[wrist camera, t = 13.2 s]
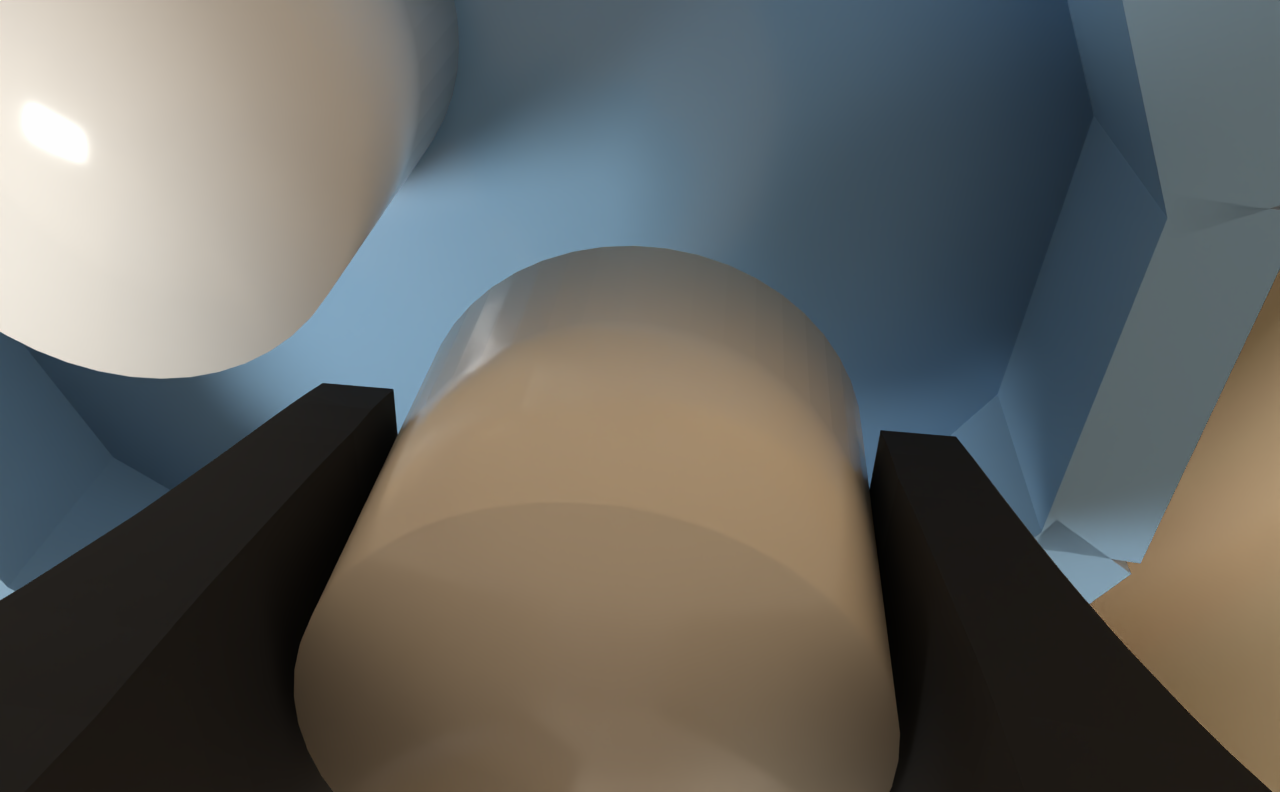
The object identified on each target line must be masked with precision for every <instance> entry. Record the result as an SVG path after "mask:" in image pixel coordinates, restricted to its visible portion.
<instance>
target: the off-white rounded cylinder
mask: <svg viewBox="0 0 1280 792" xmlns="http://www.w3.org/2000/svg"><path fill="white" fill-rule="evenodd" d="M458 54H459V36H458V21H457V13H456V8H455V3H454V0H0V332H1V333H3V334H5V335H7V336H9V337H11V338H13V339H15V340H17V341H19V342H21V343H23V344H25V345H27V346H29V347H31V348H33V349H35V350H37V351H40V352H42V353H45V354H47V355H50V356H52V357H55V358H58V359H60V360H63V361H65V362H68V363H72V364H75V365H79V366H82V367H86V368H89V369H93V370H96V371H101V372H106V373H112V374H118V375H123V376H129V377H143V378H158V379H164V378H183V377H194V376H199V375H205V374H210V373H216V372H220V371H223V370H226V369H230V368H233V367H236V366H239V365H242V364H245V363H247V362H249V361H251V360H253V359H255V358H257V357H259V356H261V355H263V354H265V353H267V352H269V351H271V350H272V349H274V348H275V347H277V346H278V345H280V344H281V343H282V342H284V341H285V340H287V339H288V338H290V337H291V336H292V335H293V334H294V333H295V332H296V331H297V330H299V329H300V328H301V327H302V326H303V325H304V324H305V323H306V322H307V321H308V320H309V319H310V318H311V317H312V316H313V314H314V313H315V311H316V310H317V309H318V307H319V306H320V305H321V303H322V302H323V301H324V299H325V298H326V297H327V295H328V294H329V292H330V291H331V289H332V288H333V286H334V285H335V283H336V282H337V281H338V279H339V278H340V276H341V275H342V273H343V272H344V270H345V269H346V267H347V266H348V264H349V263H350V261H351V260H352V259H353V257H354V256H355V254H356V253H357V251H358V250H359V248H360V247H361V245H362V244H363V242H364V241H365V239H366V238H367V236H368V235H369V234H370V232H371V231H372V229H373V228H374V226H375V225H376V223H377V222H378V220H379V219H380V217H381V216H382V214H383V213H384V212H385V210H386V209H387V207H388V206H389V204H390V203H391V201H392V200H393V198H394V197H395V195H396V194H397V192H398V191H399V190H400V188H401V187H402V185H403V184H404V182H405V181H406V179H407V178H408V176H409V175H410V173H411V172H412V170H413V169H414V167H415V166H416V165H417V163H418V162H419V160H420V159H421V157H422V156H423V154H424V153H425V151H426V150H427V148H428V147H429V145H430V144H431V143H432V141H433V140H434V138H435V136H436V134H437V132H438V130H439V128H440V126H441V124H442V122H443V120H444V119H445V116H446V113H447V110H448V107H449V104H450V101H451V99H452V96H453V91H454V86H455V81H456V76H457V70H458Z"/></svg>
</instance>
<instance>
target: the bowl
mask: <svg viewBox="0 0 1280 792" xmlns="http://www.w3.org/2000/svg"><path fill="white" fill-rule="evenodd" d="M454 3H455V8H456V13H457V21H458V36H459V54H458V70H457V76H456V81H455V86H454V91H453V96H452V99H451V101H450V104H449V107H448V110H447V113H446V116H445V119H444V120H443V122H442V124H441V126H440V128H439V130H438V132H437V134H436V136H435V138H434V140H433V141H432V143H431V144H430V145H429V147H428V148H427V150H426V151H425V153H424V154H423V156H422V157H421V159H420V160H419V162H418V163H417V165H416V166H415V167H414V169H413V170H412V172H411V173H410V175H409V176H408V178H407V179H406V181H405V182H404V184H403V185H402V187H401V188H400V190H399V191H398V192H397V194H396V195H395V197H394V198H393V200H392V201H391V203H390V204H389V206H388V207H387V209H386V210H385V212H384V213H383V214H382V216H381V217H380V219H379V220H378V222H377V223H376V225H375V226H374V228H373V229H372V231H371V232H370V234H369V235H368V236H367V238H366V239H365V241H364V242H363V244H362V245H361V247H360V248H359V250H358V251H357V253H356V254H355V256H354V257H353V259H352V260H351V261H350V263H349V264H348V266H347V267H346V269H345V270H344V272H343V273H342V275H341V276H340V278H339V279H338V281H337V282H336V283H335V285H334V286H333V288H332V289H331V291H330V292H329V294H328V295H327V297H326V298H325V299H324V301H323V302H322V303H321V305H320V306H319V307H318V309H317V310H316V311H315V313H314V314H313V316H312V317H311V318H310V319H309V320H308V321H307V322H306V323H305V324H304V325H303V326H302V327H301V328H300V329H299V330H297V331H296V332H295V333H294V334H293V335H292V336H291V337H290V338H288V339H287V340H285V341H284V342H282V343H281V344H280V345H278V346H277V347H275V348H274V349H272V350H271V351H269V352H267V353H265V354H263V355H261V356H259V357H257V358H255V359H253V360H251V361H249V362H247V363H245V364H242V365H239V366H236V367H233V368H230V369H226V370H223V371H220V372H216V373H210V374H205V375H199V376H194V377H183V378H164V379H158V378H143V377H129V376H123V375H118V374H112V373H106V372H101V371H96V370H93V369H89V368H86V367H82V366H79V365H75V364H72V363H68V362H65V361H63V360H60V359H58V358H55V357H52V356H50V355H47V354H45V353H42V352H40V351H37V350H35V349H33V348H31V347H29V346H27V345H25V344H23V343H21V342H19V341H17V340H15V339H13V338H11V337H9V336H7V335H5V334H3V333H1V332H0V600H1V599H3V598H5V597H6V596H8V595H10V594H11V593H13V592H15V591H16V590H18V589H20V588H21V587H23V586H25V585H26V584H28V583H29V582H31V581H32V580H34V579H36V578H37V577H39V576H40V575H42V574H43V573H45V572H46V571H48V570H50V569H51V568H53V567H54V566H56V565H57V564H59V563H61V562H62V561H64V560H65V559H67V558H68V557H70V556H72V555H73V554H75V553H76V552H78V551H79V550H81V549H82V548H84V547H86V546H87V545H89V544H90V543H92V542H93V541H95V540H97V539H98V538H100V537H101V536H103V535H104V534H106V533H107V532H109V531H111V530H112V529H114V528H115V527H117V526H118V525H120V524H122V523H123V522H125V521H126V520H128V519H129V518H131V517H132V516H134V515H136V514H137V513H138V512H140V511H141V510H143V509H144V508H146V507H147V506H149V505H150V504H152V503H153V502H154V501H156V500H157V499H159V498H160V497H161V496H163V495H164V494H166V493H167V492H169V491H170V490H171V489H173V488H174V487H176V486H177V485H179V484H180V483H181V482H183V481H184V480H186V479H187V478H188V477H190V476H191V475H193V474H194V473H196V472H197V471H198V470H200V469H201V468H203V467H204V466H205V465H207V464H208V463H210V462H211V461H213V460H214V459H215V458H217V457H218V456H220V455H221V454H222V453H224V452H225V451H227V450H228V449H229V448H231V447H232V446H233V445H235V444H236V443H238V442H239V441H240V440H242V439H243V438H245V437H246V436H247V435H249V434H250V433H251V432H253V431H254V430H256V429H257V428H258V427H260V426H261V425H262V424H264V423H265V422H267V421H268V420H269V419H271V418H272V417H273V416H275V415H276V414H278V413H279V412H280V411H282V410H283V409H285V408H286V407H287V406H289V405H290V404H292V403H293V402H295V401H296V400H297V399H299V398H300V397H302V396H303V395H305V394H306V393H308V392H309V391H311V390H312V389H314V388H316V387H317V386H319V385H320V384H322V383H330V384H342V385H353V386H365V387H377V388H389V389H394V400H395V411H396V422H397V432H398V433H399V431H400V429H401V427H402V425H403V423H404V421H405V419H406V416H407V414H408V412H409V410H410V408H411V406H412V404H413V402H414V400H415V398H416V395H417V393H418V391H419V389H420V387H421V385H422V383H423V381H424V379H425V376H426V374H427V372H428V370H429V368H430V366H431V364H432V362H433V360H434V358H435V355H436V353H437V351H438V349H439V347H440V345H441V343H442V342H443V340H444V339H445V337H446V336H447V334H448V333H449V331H450V329H451V328H452V326H453V325H454V323H455V322H456V321H457V320H458V319H459V318H460V317H461V316H462V314H463V313H464V312H465V311H466V310H467V309H468V308H469V307H470V305H471V304H473V303H474V302H475V301H476V300H477V299H479V298H480V297H481V296H482V295H483V294H484V293H486V292H487V291H488V290H489V289H490V288H492V287H493V286H495V285H496V284H498V283H500V282H501V281H503V280H504V279H506V278H508V277H509V276H511V275H513V274H514V273H516V272H518V271H520V270H522V269H525V268H527V267H529V266H532V265H534V264H536V263H538V262H541V261H543V260H546V259H550V258H553V257H556V256H560V255H563V254H567V253H570V252H574V251H581V250H587V249H593V248H599V247H614V246H644V247H656V248H667V249H672V250H677V251H682V252H687V253H691V254H696V255H700V256H703V257H706V258H709V259H712V260H715V261H718V262H721V263H724V264H727V265H729V266H731V267H734V268H736V269H738V270H740V271H742V272H744V273H746V274H748V275H750V276H753V277H755V278H757V279H758V280H760V281H761V282H763V283H764V284H766V285H768V286H769V287H771V288H772V289H774V290H775V291H777V292H779V293H780V294H782V295H783V296H784V297H785V298H787V299H788V300H789V301H790V302H791V303H793V304H794V305H795V306H796V307H797V308H799V309H800V310H801V311H802V312H803V313H805V314H806V316H807V317H808V318H809V319H810V320H811V321H812V322H813V323H814V324H815V325H816V327H817V328H818V329H819V330H820V331H821V332H822V333H823V334H824V335H825V337H826V338H827V340H828V341H829V343H830V344H831V346H832V347H833V349H834V350H835V352H836V353H837V355H838V356H839V357H840V359H841V362H842V364H843V366H844V368H845V370H846V372H847V374H848V376H849V378H850V380H851V383H852V386H853V389H854V393H855V396H856V399H857V402H858V406H859V412H860V420H861V427H862V434H863V442H864V450H865V458H866V466H867V474H868V482H869V489H870V484H871V478H872V473H873V468H874V462H875V457H876V452H877V447H878V441H879V436H880V431H881V430H885V431H897V432H909V433H920V434H932V435H944V436H956V437H957V438H958V440H959V441H960V442H961V443H962V445H963V446H964V447H965V448H966V450H967V451H968V452H969V453H970V455H971V456H972V457H973V458H974V460H975V461H976V462H977V464H978V465H979V466H980V468H981V469H982V470H983V471H984V473H985V474H986V475H987V477H988V478H989V479H990V481H991V482H992V483H993V485H994V486H995V487H996V489H997V490H998V491H999V492H1000V494H1001V495H1002V496H1003V498H1004V499H1005V500H1006V502H1007V503H1008V504H1009V506H1010V507H1011V508H1012V509H1013V511H1014V512H1015V513H1016V515H1017V516H1018V517H1019V518H1020V520H1021V521H1022V522H1023V524H1024V525H1025V526H1026V527H1027V529H1028V530H1029V531H1030V533H1031V534H1032V535H1033V536H1034V538H1035V539H1036V540H1037V541H1038V543H1039V544H1040V545H1041V547H1042V548H1043V549H1044V550H1045V552H1046V553H1047V554H1048V555H1049V556H1050V558H1051V559H1052V560H1053V561H1054V563H1055V564H1056V565H1057V566H1058V568H1059V569H1060V570H1061V571H1062V573H1063V574H1064V575H1065V576H1066V577H1067V578H1068V580H1069V581H1070V582H1071V583H1072V584H1073V586H1074V587H1075V588H1076V589H1077V590H1078V591H1079V593H1080V594H1081V595H1082V596H1083V597H1084V599H1085V600H1086V601H1087V602H1088V603H1089V604H1090V603H1091V602H1093V601H1094V600H1095V599H1097V598H1098V597H1100V596H1101V595H1102V594H1104V593H1105V592H1107V591H1108V590H1109V589H1111V588H1112V587H1114V586H1115V585H1117V584H1118V583H1119V582H1121V581H1122V580H1124V579H1125V578H1126V577H1128V576H1129V575H1131V572H1130V570H1129V567H1128V565H1127V562H1126V561H1128V562H1134V563H1141V561H1142V559H1143V557H1144V555H1145V553H1146V551H1147V549H1148V547H1149V544H1150V542H1151V540H1152V538H1153V536H1154V534H1155V532H1156V530H1157V527H1158V525H1159V523H1160V521H1161V519H1162V517H1163V515H1164V513H1165V511H1166V508H1167V506H1168V504H1169V502H1170V500H1171V498H1172V496H1173V494H1174V492H1175V489H1176V487H1177V485H1178V483H1179V481H1180V479H1181V477H1182V475H1183V473H1184V470H1185V468H1186V466H1187V464H1188V462H1189V460H1190V458H1191V456H1192V453H1193V451H1194V449H1195V447H1196V445H1197V443H1198V441H1199V439H1200V437H1201V434H1202V432H1203V430H1204V428H1205V426H1206V424H1207V422H1208V420H1209V418H1210V415H1211V413H1212V411H1213V409H1214V407H1215V405H1216V403H1217V401H1218V399H1219V396H1220V394H1221V392H1222V390H1223V388H1224V386H1225V384H1226V382H1227V380H1228V377H1229V375H1230V373H1231V371H1232V369H1233V367H1234V365H1235V363H1236V360H1237V358H1238V356H1239V354H1240V352H1241V350H1242V348H1243V346H1244V344H1245V341H1246V339H1247V337H1248V335H1249V333H1250V331H1251V329H1252V327H1253V325H1254V322H1255V320H1256V318H1257V316H1258V314H1259V312H1260V310H1261V308H1262V306H1263V303H1264V301H1265V299H1266V297H1267V295H1268V293H1269V291H1270V289H1271V286H1272V284H1273V282H1274V280H1275V278H1276V276H1277V274H1278V272H1279V270H1280V0H454Z"/></svg>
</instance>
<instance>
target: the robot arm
mask: <svg viewBox="0 0 1280 792" xmlns="http://www.w3.org/2000/svg"><path fill="white" fill-rule="evenodd" d="M397 435H398V432H397V422H396V411H395V400H394V389H389V388H377V387H365V386H353V385H342V384H330V383H322V384H320V385H319V386H317V387H316V388H314V389H312V390H311V391H309V392H308V393H306V394H305V395H303V396H302V397H300V398H299V399H297V400H296V401H295V402H293V403H292V404H290V405H289V406H287V407H286V408H285V409H283V410H282V411H280V412H279V413H278V414H276V415H275V416H273V417H272V418H271V419H269V420H268V421H267V422H265V423H264V424H262V425H261V426H260V427H258V428H257V429H256V430H254V431H253V432H251V433H250V434H249V435H247V436H246V437H245V438H243V439H242V440H240V441H239V442H238V443H236V444H235V445H233V446H232V447H231V448H229V449H228V450H227V451H225V452H224V453H222V454H221V455H220V456H218V457H217V458H215V459H214V460H213V461H211V462H210V463H208V464H207V465H205V466H204V467H203V468H201V469H200V470H198V471H197V472H196V473H194V474H193V475H191V476H190V477H188V478H187V479H186V480H184V481H183V482H181V483H180V484H179V485H177V486H176V487H174V488H173V489H171V490H170V491H169V492H167V493H166V494H164V495H163V496H161V497H160V498H159V499H157V500H156V501H154V502H153V503H152V504H150V505H149V506H147V507H146V508H144V509H143V510H141V511H140V512H138V513H137V514H136V515H134V516H132V517H131V518H129V519H128V520H126V521H125V522H123V523H122V524H120V525H118V526H117V527H115V528H114V529H112V530H111V531H109V532H107V533H106V534H104V535H103V536H101V537H100V538H98V539H97V540H95V541H93V542H92V543H90V544H89V545H87V546H86V547H84V548H82V549H81V550H79V551H78V552H76V553H75V554H73V555H72V556H70V557H68V558H67V559H65V560H64V561H62V562H61V563H59V564H57V565H56V566H54V567H53V568H51V569H50V570H48V571H46V572H45V573H43V574H42V575H40V576H39V577H37V578H36V579H34V580H32V581H31V582H29V583H28V584H26V585H25V586H23V587H21V588H20V589H18V590H16V591H15V592H13V593H11V594H10V595H8V596H6V597H5V598H3V599H1V600H0V792H333V791H332V789H331V788H330V787H329V785H328V784H327V783H326V781H325V780H324V778H323V777H322V776H321V774H320V772H319V770H318V768H317V767H316V765H315V763H314V761H313V759H312V757H311V755H310V753H309V752H308V750H307V747H306V744H305V741H304V738H303V735H302V733H301V730H300V727H299V724H298V718H297V712H296V706H295V700H294V669H295V665H296V660H297V655H298V650H299V646H300V642H301V640H302V637H303V635H304V633H305V630H306V628H307V626H308V623H309V621H310V619H311V616H312V614H313V612H314V610H315V608H316V606H317V604H318V602H319V600H320V597H321V595H322V593H323V591H324V589H325V587H326V585H327V583H328V581H329V579H330V576H331V574H332V572H333V570H334V568H335V566H336V564H337V562H338V560H339V557H340V555H341V553H342V551H343V549H344V547H345V545H346V543H347V541H348V539H349V536H350V534H351V532H352V530H353V528H354V526H355V524H356V522H357V520H358V517H359V515H360V513H361V511H362V509H363V507H364V505H365V503H366V501H367V499H368V496H369V494H370V492H371V490H372V488H373V486H374V484H375V482H376V480H377V478H378V475H379V473H380V471H381V469H382V467H383V465H384V463H385V461H386V459H387V456H388V454H389V452H390V450H391V448H392V446H393V444H394V442H395V440H396V438H397ZM869 490H870V498H871V506H872V514H873V522H874V530H875V538H876V546H877V554H878V562H879V570H880V578H881V586H882V594H883V602H884V610H885V618H886V626H887V634H888V642H889V649H890V657H891V665H892V673H893V681H894V689H895V697H896V705H897V713H898V721H899V729H900V741H899V759H898V764H897V768H896V772H895V776H894V780H893V784H892V787H891V789H890V792H1272V791H1271V790H1270V789H1269V788H1267V787H1266V786H1265V785H1264V784H1263V783H1262V782H1261V781H1260V780H1259V779H1258V778H1257V777H1255V776H1254V775H1253V774H1252V773H1251V772H1250V771H1249V770H1248V769H1247V768H1246V767H1244V766H1243V765H1242V764H1241V763H1240V762H1239V761H1238V760H1237V759H1236V758H1235V757H1234V756H1232V755H1231V754H1230V753H1229V752H1228V751H1227V750H1226V749H1225V748H1224V747H1223V746H1222V745H1221V744H1220V743H1219V742H1218V741H1217V740H1216V739H1215V738H1214V737H1213V736H1212V735H1211V734H1210V733H1209V732H1208V731H1207V730H1206V729H1205V728H1204V727H1203V726H1202V725H1201V724H1200V723H1199V722H1198V721H1197V720H1196V719H1195V718H1194V717H1193V716H1192V715H1191V714H1190V713H1189V712H1188V711H1187V710H1186V709H1185V708H1184V707H1183V706H1182V705H1181V704H1180V703H1179V702H1178V701H1177V700H1176V699H1175V698H1174V697H1173V696H1172V695H1171V694H1170V692H1169V691H1168V690H1167V689H1166V688H1165V687H1164V686H1163V685H1162V684H1161V683H1160V682H1159V681H1158V680H1157V679H1156V678H1155V677H1154V676H1153V675H1152V674H1151V673H1150V671H1149V670H1148V669H1147V668H1146V667H1145V666H1144V665H1143V664H1142V663H1141V662H1140V661H1139V660H1138V659H1137V658H1136V657H1135V656H1134V655H1133V654H1132V653H1131V651H1130V650H1129V649H1128V648H1127V647H1126V646H1125V645H1124V644H1123V643H1122V641H1121V640H1120V639H1119V638H1118V637H1117V636H1116V635H1115V634H1114V633H1113V631H1112V630H1111V629H1110V628H1109V627H1108V626H1107V625H1106V623H1105V622H1104V621H1103V620H1102V619H1101V618H1100V616H1099V615H1098V614H1097V613H1096V612H1095V610H1094V609H1093V608H1092V607H1091V606H1090V604H1089V603H1088V602H1087V601H1086V600H1085V599H1084V597H1083V596H1082V595H1081V594H1080V593H1079V591H1078V590H1077V589H1076V588H1075V587H1074V586H1073V584H1072V583H1071V582H1070V581H1069V580H1068V578H1067V577H1066V576H1065V575H1064V574H1063V573H1062V571H1061V570H1060V569H1059V568H1058V566H1057V565H1056V564H1055V563H1054V561H1053V560H1052V559H1051V558H1050V556H1049V555H1048V554H1047V553H1046V552H1045V550H1044V549H1043V548H1042V547H1041V545H1040V544H1039V543H1038V541H1037V540H1036V539H1035V538H1034V536H1033V535H1032V534H1031V533H1030V531H1029V530H1028V529H1027V527H1026V526H1025V525H1024V524H1023V522H1022V521H1021V520H1020V518H1019V517H1018V516H1017V515H1016V513H1015V512H1014V511H1013V509H1012V508H1011V507H1010V506H1009V504H1008V503H1007V502H1006V500H1005V499H1004V498H1003V496H1002V495H1001V494H1000V492H999V491H998V490H997V489H996V487H995V486H994V485H993V483H992V482H991V481H990V479H989V478H988V477H987V475H986V474H985V473H984V471H983V470H982V469H981V468H980V466H979V465H978V464H977V462H976V461H975V460H974V458H973V457H972V456H971V455H970V453H969V452H968V451H967V450H966V448H965V447H964V446H963V445H962V443H961V442H960V441H959V440H958V438H957V437H956V436H944V435H932V434H920V433H909V432H897V431H885V430H881V431H880V436H879V441H878V447H877V452H876V457H875V462H874V468H873V473H872V478H871V484H870V489H869Z"/></svg>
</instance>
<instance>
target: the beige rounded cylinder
mask: <svg viewBox="0 0 1280 792" xmlns="http://www.w3.org/2000/svg"><path fill="white" fill-rule="evenodd" d="M294 700H295V706H296V712H297V718H298V724H299V727H300V730H301V733H302V735H303V738H304V741H305V744H306V747H307V750H308V752H309V753H310V755H311V757H312V759H313V761H314V763H315V765H316V767H317V768H318V770H319V772H320V774H321V776H322V777H323V778H324V780H325V781H326V783H327V784H328V785H329V787H330V788H331V789H332V791H333V792H890V789H891V787H892V784H893V780H894V776H895V772H896V768H897V764H898V759H899V741H900V729H899V721H898V713H897V705H896V697H895V689H894V681H893V673H892V665H891V657H890V649H889V642H888V634H887V626H886V618H885V610H884V602H883V594H882V586H881V578H880V570H879V562H878V554H877V546H876V538H875V530H874V522H873V514H872V506H871V498H870V490H869V482H868V474H867V466H866V458H865V450H864V442H863V434H862V427H861V420H860V412H859V406H858V402H857V399H856V396H855V393H854V389H853V386H852V383H851V380H850V378H849V376H848V374H847V372H846V370H845V368H844V366H843V364H842V362H841V359H840V357H839V356H838V355H837V353H836V352H835V350H834V349H833V347H832V346H831V344H830V343H829V341H828V340H827V338H826V337H825V335H824V334H823V333H822V332H821V331H820V330H819V329H818V328H817V327H816V325H815V324H814V323H813V322H812V321H811V320H810V319H809V318H808V317H807V316H806V314H805V313H803V312H802V311H801V310H800V309H799V308H797V307H796V306H795V305H794V304H793V303H791V302H790V301H789V300H788V299H787V298H785V297H784V296H783V295H782V294H780V293H779V292H777V291H775V290H774V289H772V288H771V287H769V286H768V285H766V284H764V283H763V282H761V281H760V280H758V279H757V278H755V277H753V276H750V275H748V274H746V273H744V272H742V271H740V270H738V269H736V268H734V267H731V266H729V265H727V264H724V263H721V262H718V261H715V260H712V259H709V258H706V257H703V256H700V255H696V254H691V253H687V252H682V251H677V250H672V249H667V248H656V247H644V246H614V247H599V248H593V249H587V250H581V251H574V252H570V253H567V254H563V255H560V256H556V257H553V258H550V259H546V260H543V261H541V262H538V263H536V264H534V265H532V266H529V267H527V268H525V269H522V270H520V271H518V272H516V273H514V274H513V275H511V276H509V277H508V278H506V279H504V280H503V281H501V282H500V283H498V284H496V285H495V286H493V287H492V288H490V289H489V290H488V291H487V292H486V293H484V294H483V295H482V296H481V297H480V298H479V299H477V300H476V301H475V302H474V303H473V304H471V305H470V307H469V308H468V309H467V310H466V311H465V312H464V313H463V314H462V316H461V317H460V318H459V319H458V320H457V321H456V322H455V323H454V325H453V326H452V328H451V329H450V331H449V333H448V334H447V336H446V337H445V339H444V340H443V342H442V343H441V345H440V347H439V349H438V351H437V353H436V355H435V358H434V360H433V362H432V364H431V366H430V368H429V370H428V372H427V374H426V376H425V379H424V381H423V383H422V385H421V387H420V389H419V391H418V393H417V395H416V398H415V400H414V402H413V404H412V406H411V408H410V410H409V412H408V414H407V416H406V419H405V421H404V423H403V425H402V427H401V429H400V431H399V433H398V435H397V438H396V440H395V442H394V444H393V446H392V448H391V450H390V452H389V454H388V456H387V459H386V461H385V463H384V465H383V467H382V469H381V471H380V473H379V475H378V478H377V480H376V482H375V484H374V486H373V488H372V490H371V492H370V494H369V496H368V499H367V501H366V503H365V505H364V507H363V509H362V511H361V513H360V515H359V517H358V520H357V522H356V524H355V526H354V528H353V530H352V532H351V534H350V536H349V539H348V541H347V543H346V545H345V547H344V549H343V551H342V553H341V555H340V557H339V560H338V562H337V564H336V566H335V568H334V570H333V572H332V574H331V576H330V579H329V581H328V583H327V585H326V587H325V589H324V591H323V593H322V595H321V597H320V600H319V602H318V604H317V606H316V608H315V610H314V612H313V614H312V616H311V619H310V621H309V623H308V626H307V628H306V630H305V633H304V635H303V637H302V640H301V642H300V646H299V650H298V655H297V660H296V665H295V669H294Z"/></svg>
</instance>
